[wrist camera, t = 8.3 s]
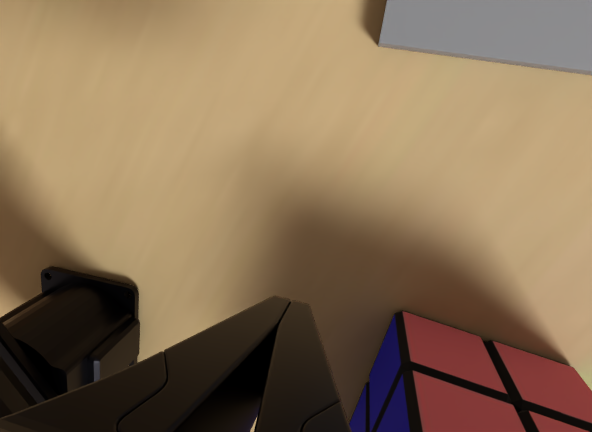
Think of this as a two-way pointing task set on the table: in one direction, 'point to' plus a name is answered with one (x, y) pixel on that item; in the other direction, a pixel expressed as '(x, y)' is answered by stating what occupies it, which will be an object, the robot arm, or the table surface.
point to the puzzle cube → (466, 385)
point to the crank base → (495, 31)
